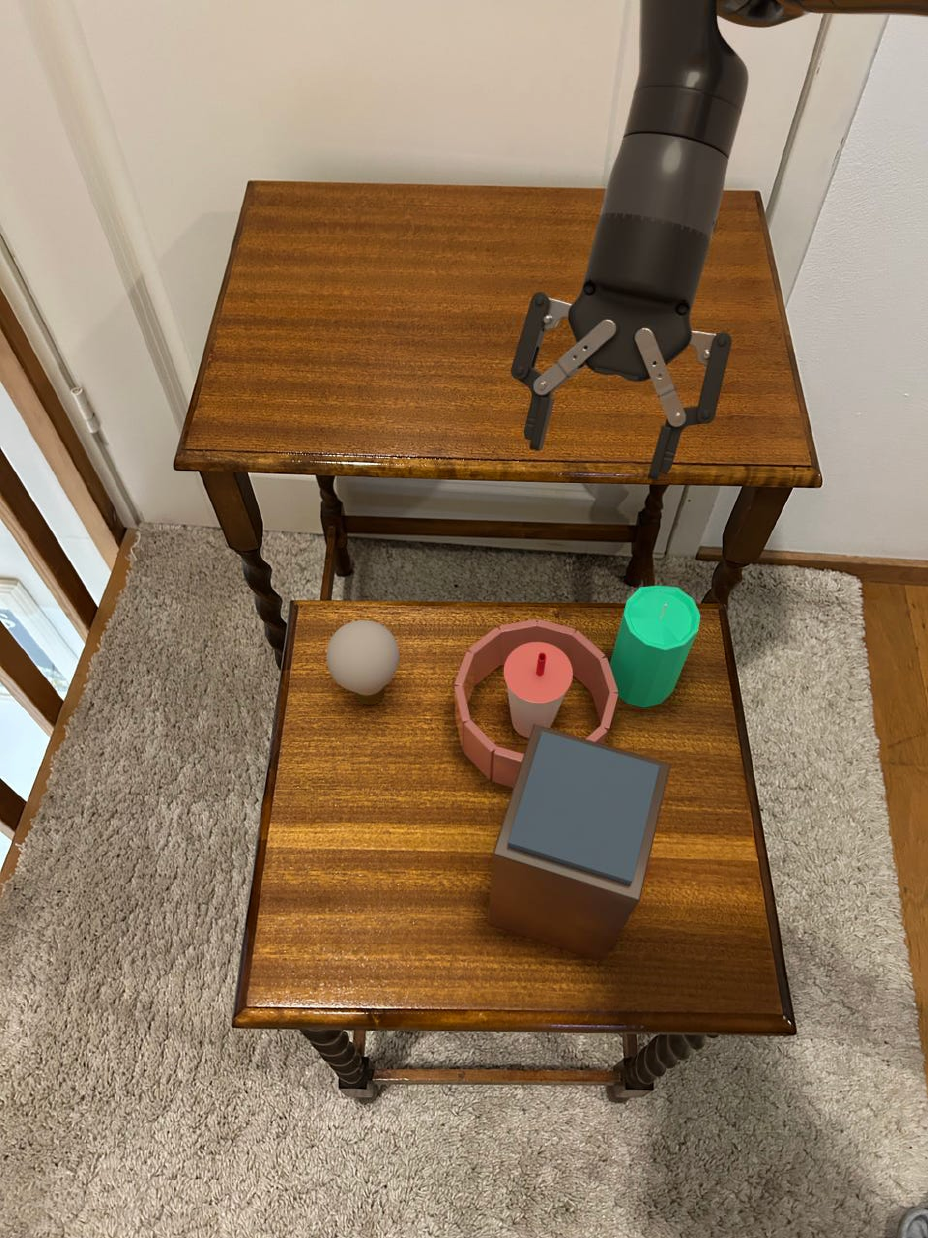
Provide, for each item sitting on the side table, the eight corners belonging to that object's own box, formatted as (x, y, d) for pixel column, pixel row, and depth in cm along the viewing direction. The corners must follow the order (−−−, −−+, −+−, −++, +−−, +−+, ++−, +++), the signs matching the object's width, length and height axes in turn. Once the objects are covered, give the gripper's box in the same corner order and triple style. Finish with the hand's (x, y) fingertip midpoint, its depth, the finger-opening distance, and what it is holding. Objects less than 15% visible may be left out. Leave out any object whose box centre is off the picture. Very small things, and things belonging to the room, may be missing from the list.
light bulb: (391, 734, 80) (381, 680, 71) (326, 715, 81) (309, 659, 72) (414, 675, 82) (407, 617, 74) (352, 657, 83) (338, 597, 75)
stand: (629, 850, 74) (671, 763, 59) (602, 963, 70) (639, 901, 55) (520, 816, 76) (533, 723, 60) (487, 924, 71) (492, 853, 56)
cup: (554, 756, 78) (566, 693, 68) (492, 739, 79) (496, 673, 69) (569, 701, 81) (584, 632, 71) (510, 685, 82) (516, 614, 72)
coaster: (657, 770, 59) (660, 765, 58) (630, 885, 55) (632, 882, 54) (541, 735, 60) (542, 730, 59) (507, 846, 56) (507, 842, 56)
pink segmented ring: (621, 677, 82) (631, 644, 77) (585, 810, 76) (594, 783, 71) (483, 638, 84) (484, 603, 79) (437, 765, 78) (434, 735, 73)
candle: (686, 666, 83) (717, 592, 73) (658, 719, 80) (685, 651, 70) (624, 636, 84) (646, 560, 74) (595, 687, 82) (613, 616, 72)
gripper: (544, 190, 59) (487, 442, 64) (768, 235, 57) (693, 493, 62) (559, 213, 67) (506, 438, 71) (759, 254, 64) (692, 484, 69)
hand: (593, 464), depth 66 cm, fingers open, 8 cm apart
